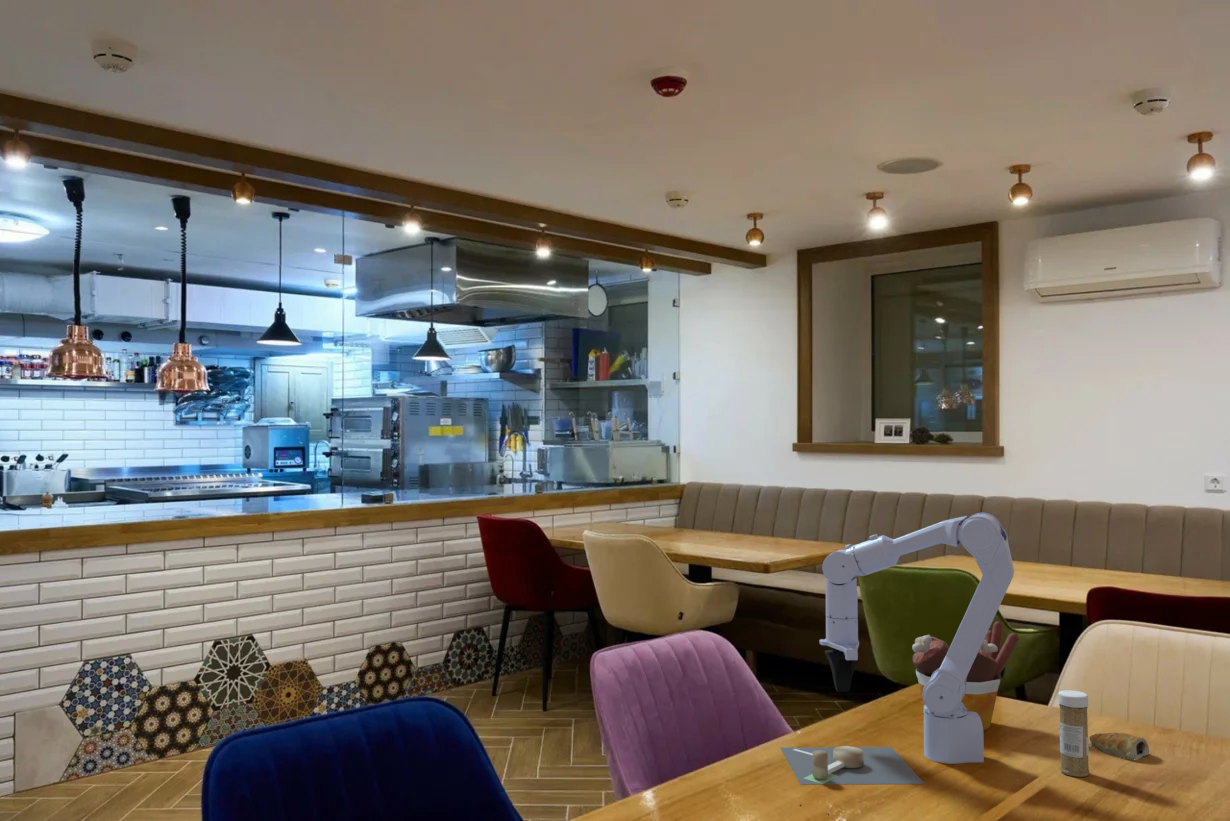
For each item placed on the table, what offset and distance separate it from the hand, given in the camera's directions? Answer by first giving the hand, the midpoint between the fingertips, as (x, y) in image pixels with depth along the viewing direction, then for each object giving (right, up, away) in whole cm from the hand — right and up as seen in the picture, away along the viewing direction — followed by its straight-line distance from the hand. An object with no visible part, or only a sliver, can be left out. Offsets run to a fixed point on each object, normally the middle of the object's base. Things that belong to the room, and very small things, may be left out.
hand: (842, 691), depth 173 cm
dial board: (-2, -10, -12) cm, 16 cm away
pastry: (+49, -11, -3) cm, 51 cm away
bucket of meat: (+27, -11, +14) cm, 32 cm away
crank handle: (-5, -9, -15) cm, 18 cm away
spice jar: (+36, -10, -13) cm, 40 cm away
